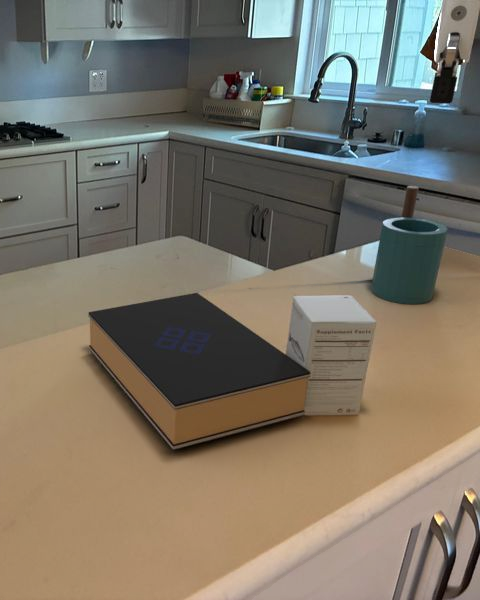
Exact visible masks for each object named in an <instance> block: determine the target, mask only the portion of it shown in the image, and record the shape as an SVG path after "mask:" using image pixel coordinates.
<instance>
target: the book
mask: <svg viewBox="0 0 480 600" xmlns="http://www.w3.org/2000/svg"><path fill="white" fill-rule="evenodd" d="M87 314H88V318H89V339H90V340H89V341H90V342H89V344H90V345H88V350H89V351H90V352H91V353H92V355H93V356H94V357H95V358H96V360H98V362H99V363H100V364H101V365H102V366H103V368H104V369H105V370H106V371H107V373H108V374H109V375H110V376H111V378H112V379H113V380H114V381H115V382H116V383H117V385H118V386H119V387H120V388H121V390H122V391H123V392H124V393H125V395H127V397H128V398H129V399H130V400H131V402H132V404H134V406H135V407H136V408H137V409H138V410H139V411H140V413H141V414H142V415H143V416H144V417H145V419H146V420H147V422H149V423H150V425H151V426H152V427H153V428H154V429H155V431H156V432H157V433H158V434H159V436H160V437H161V438H162V439H163V440H164V442H165V443H166V444H167V445H168V446H169V448H170V449H171V450H172V451H176V450H180V449H184V448H187V447H190V446H195V445H198V444H203V443H206V442H209V441H213V440H217V439H220V438H225V437H228V436H232V435H236V434H239V433H243V432H246V431H247V432H248V431H250V430H254V429H258V428H262V427H266V426H269V425H273V424H277V423H281V422H284V421H287V420H292V419H295V418H299V417H302V416H305V415H304V413H305V411H304V404H305V397H306V390H307V383H308V377H310V374H311V373H310V371H308V370H307V369H306V368H304V367H303V366H301V365H300V364H298V363H297V362H296V361H294V360H293V359H291V358H290V357H288V356H287V355H286V353H284V352H282V351H281V350H280V349H278V348H277V347H276V346H274V345H273V344H271V343H270V342H269V341H267V340H265V339H264V338H263V337H262V336H260V335H259V334H257V333H256V332H254V331H253V330H251V329H250V328H248V327H247V326H245V325H244V324H243V323H242V322H240V321H238V320H237V319H236V318H234V317H233V316H231V315H230V314H228V313H227V312H226V311H224V310H223V309H221V308H220V307H218V306H217V305H216V304H214V303H213V302H211V301H210V300H208V299H207V298H205V297H204V296H203V295H201V294H200V293H198V292H193V293H187V294H181V295H177V296H170V297H166V298H160V299H153V300H149V301H143V302H138V303H132V304H127V305H121V306H115V307H109V308H105V309H104V308H103V309H99V310H93V311H92V310H91V311H88V313H87Z"/></svg>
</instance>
